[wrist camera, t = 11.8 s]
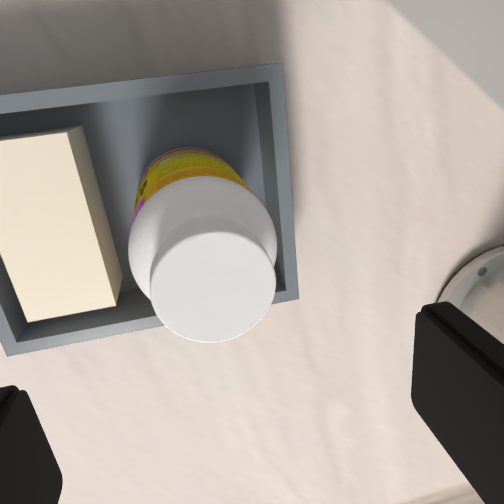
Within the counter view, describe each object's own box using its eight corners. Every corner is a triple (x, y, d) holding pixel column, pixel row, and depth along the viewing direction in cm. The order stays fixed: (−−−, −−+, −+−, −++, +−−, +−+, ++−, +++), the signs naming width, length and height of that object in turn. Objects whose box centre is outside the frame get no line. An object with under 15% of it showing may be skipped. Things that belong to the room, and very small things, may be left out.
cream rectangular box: (82, 124, 23) (66, 132, 20) (122, 276, 27) (116, 305, 24) (-9, 136, 23) (-43, 146, 19) (46, 290, 27) (27, 322, 23)
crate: (261, 66, 25) (282, 62, 20) (279, 267, 31) (299, 298, 26) (-49, 102, 23) (-104, 106, 18) (32, 312, 28) (7, 356, 24)
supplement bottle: (131, 146, 24) (107, 206, 13) (239, 143, 25) (306, 194, 14) (143, 249, 27) (132, 375, 15) (240, 241, 28) (298, 352, 17)
